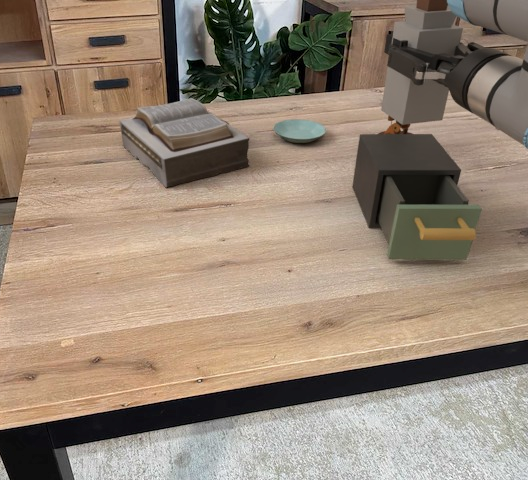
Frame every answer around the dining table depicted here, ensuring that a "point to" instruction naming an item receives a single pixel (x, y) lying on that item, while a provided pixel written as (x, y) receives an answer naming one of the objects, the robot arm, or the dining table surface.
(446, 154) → the cabinet
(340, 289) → the dining table surface
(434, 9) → the perfume bottle
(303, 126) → the saucer
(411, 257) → the drawer
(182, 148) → the bible
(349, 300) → the dining table surface
